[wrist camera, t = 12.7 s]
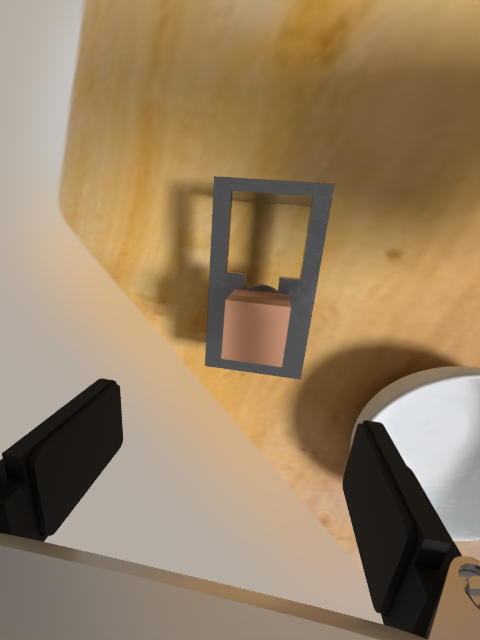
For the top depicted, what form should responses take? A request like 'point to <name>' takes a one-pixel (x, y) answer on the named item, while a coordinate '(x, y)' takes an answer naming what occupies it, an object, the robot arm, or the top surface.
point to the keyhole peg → (256, 325)
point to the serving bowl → (437, 439)
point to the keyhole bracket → (296, 288)
